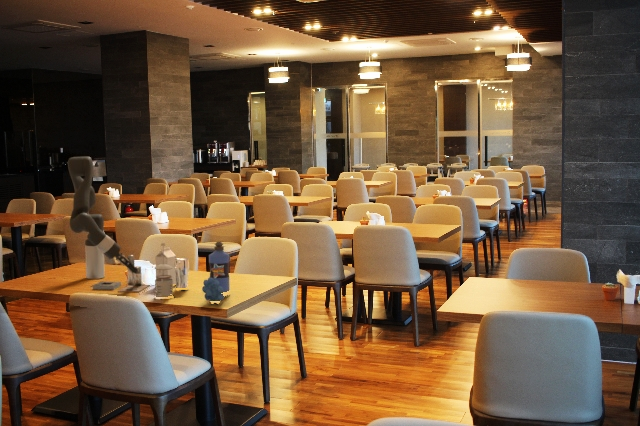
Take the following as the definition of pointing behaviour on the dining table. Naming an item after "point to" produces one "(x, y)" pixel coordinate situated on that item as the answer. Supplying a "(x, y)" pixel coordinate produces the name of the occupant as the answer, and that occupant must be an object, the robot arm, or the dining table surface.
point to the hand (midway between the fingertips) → (135, 270)
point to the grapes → (212, 290)
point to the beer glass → (181, 272)
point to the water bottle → (220, 266)
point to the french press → (166, 285)
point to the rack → (134, 288)
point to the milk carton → (169, 260)
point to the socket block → (106, 285)
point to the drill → (130, 272)
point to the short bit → (138, 277)
